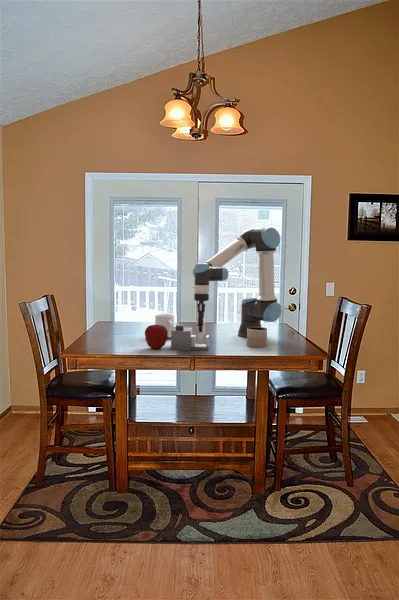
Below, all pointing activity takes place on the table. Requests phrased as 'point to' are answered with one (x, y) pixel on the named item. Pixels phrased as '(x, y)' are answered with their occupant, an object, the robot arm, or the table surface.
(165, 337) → the apple
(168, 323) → the mug
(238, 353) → the table surface
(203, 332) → the white bottle
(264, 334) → the planter
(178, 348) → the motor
